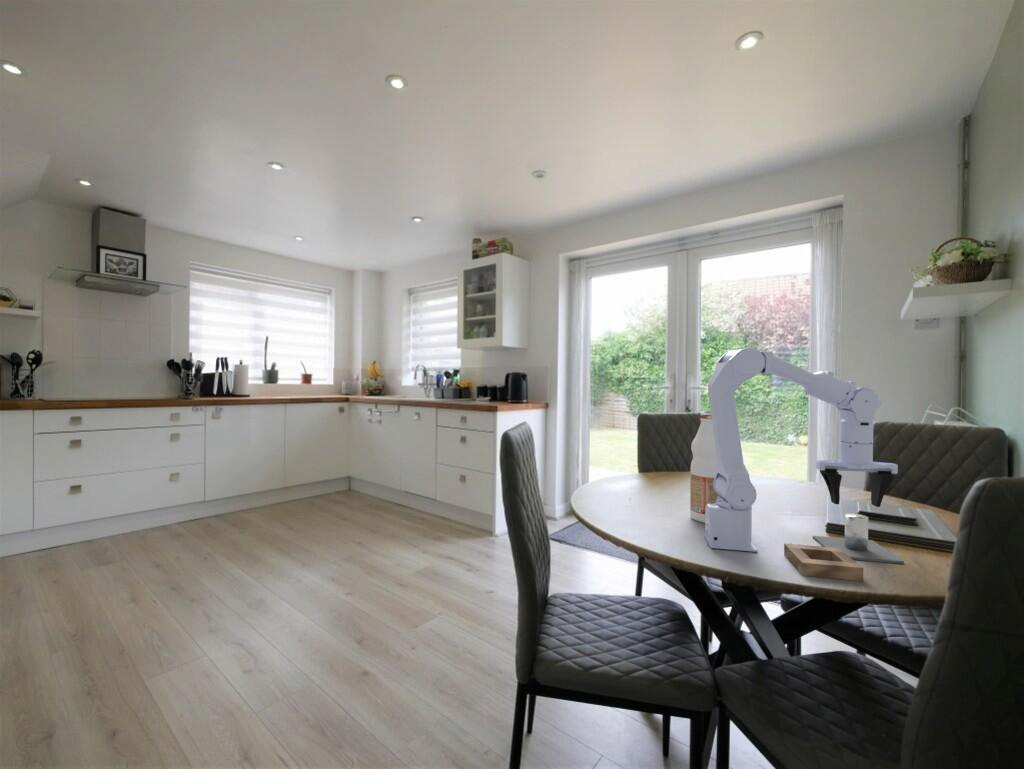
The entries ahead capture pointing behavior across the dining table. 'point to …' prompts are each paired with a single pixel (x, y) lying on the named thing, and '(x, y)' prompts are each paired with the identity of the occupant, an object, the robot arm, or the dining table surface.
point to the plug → (856, 532)
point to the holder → (823, 562)
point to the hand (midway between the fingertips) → (855, 504)
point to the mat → (872, 554)
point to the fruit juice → (703, 469)
